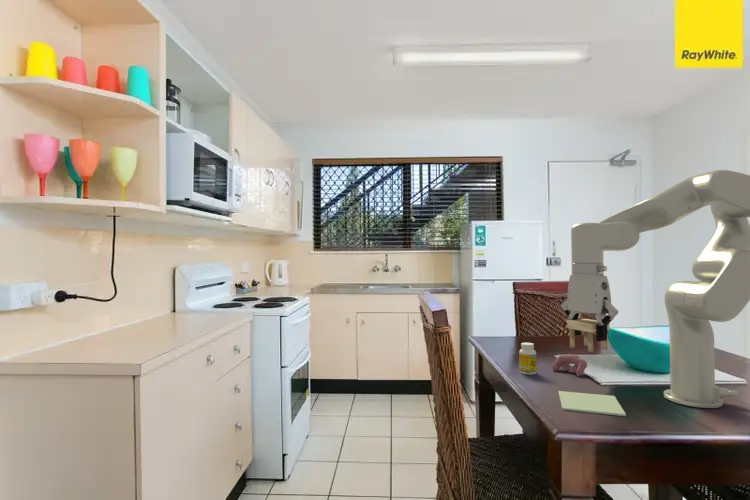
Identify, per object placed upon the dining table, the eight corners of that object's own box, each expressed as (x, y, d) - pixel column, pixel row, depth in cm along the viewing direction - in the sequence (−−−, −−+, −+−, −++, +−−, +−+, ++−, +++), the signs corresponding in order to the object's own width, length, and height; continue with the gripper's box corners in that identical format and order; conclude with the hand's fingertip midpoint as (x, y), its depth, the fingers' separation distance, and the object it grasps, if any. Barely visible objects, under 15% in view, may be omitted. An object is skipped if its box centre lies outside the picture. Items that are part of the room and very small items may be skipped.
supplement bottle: (524, 369, 144) (523, 341, 144) (539, 372, 140) (539, 343, 140) (516, 372, 140) (516, 343, 140) (531, 375, 136) (531, 346, 136)
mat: (614, 397, 115) (614, 396, 115) (626, 416, 102) (625, 414, 102) (558, 392, 120) (558, 390, 120) (562, 409, 106) (562, 407, 106)
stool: (585, 344, 115) (585, 318, 116) (609, 349, 109) (609, 322, 109) (567, 347, 112) (567, 320, 113) (591, 352, 106) (590, 324, 106)
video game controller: (585, 380, 136) (590, 359, 138) (578, 376, 134) (583, 354, 136) (557, 373, 144) (562, 353, 146) (550, 369, 142) (555, 349, 144)
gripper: (628, 270, 105) (629, 342, 105) (569, 268, 121) (570, 331, 120) (608, 271, 102) (609, 345, 101) (550, 269, 117) (551, 333, 117)
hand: (588, 337), depth 111 cm, fingers closed on stool, 7 cm apart
